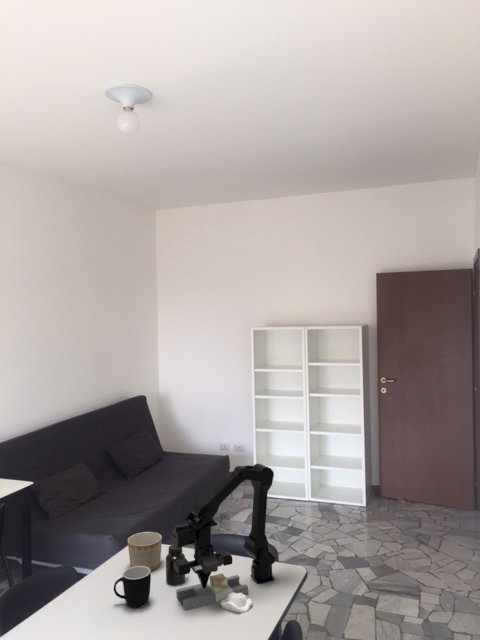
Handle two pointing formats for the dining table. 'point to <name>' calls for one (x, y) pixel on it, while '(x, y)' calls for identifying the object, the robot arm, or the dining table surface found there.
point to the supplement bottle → (171, 574)
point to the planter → (145, 549)
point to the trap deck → (208, 593)
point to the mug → (135, 586)
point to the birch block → (218, 582)
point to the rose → (236, 602)
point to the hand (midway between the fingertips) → (203, 587)
